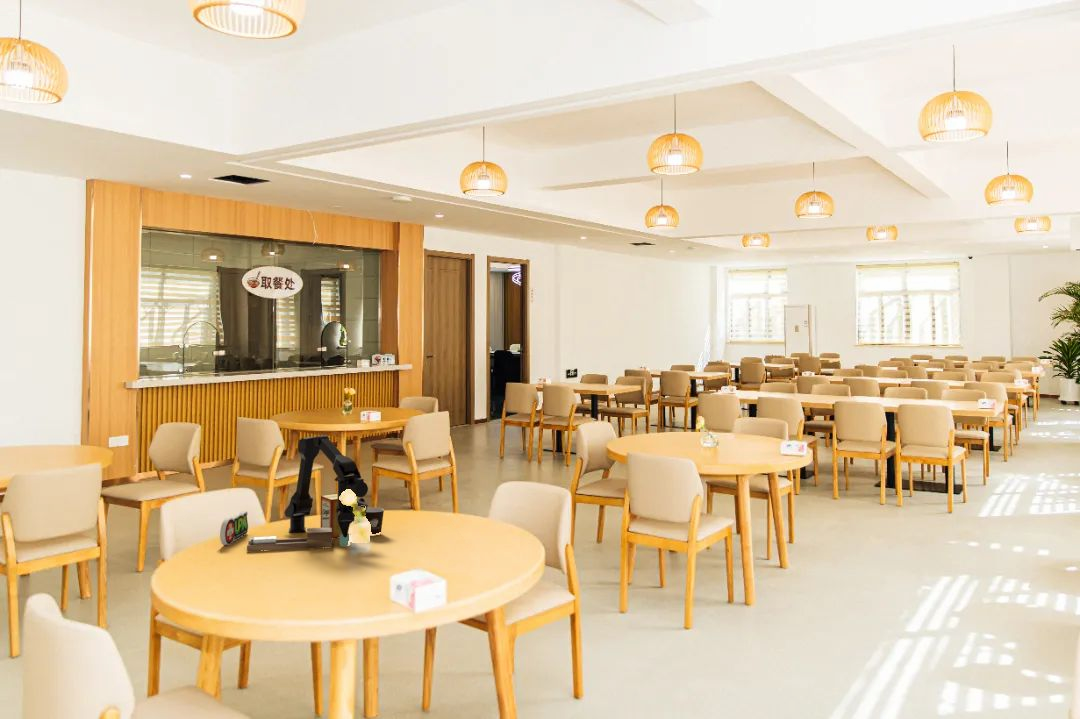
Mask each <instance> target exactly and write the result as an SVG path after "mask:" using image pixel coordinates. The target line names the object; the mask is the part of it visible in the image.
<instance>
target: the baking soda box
mask: <svg viewBox="0 0 1080 719" xmlns="http://www.w3.org/2000/svg"><path fill="white" fill-rule="evenodd" d="M337 505H338V493H336V494H327V495H325V494H324V495H320V528H326V527H331V528H332V538H336V539H339V538H338V537H340V534H342V531H341V529H340V526H339V524H338V521H337V512H336V506H337ZM338 512H339V511H338Z"/></svg>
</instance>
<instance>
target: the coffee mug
mask: <svg viewBox="0 0 1080 719" xmlns="http://www.w3.org/2000/svg"><path fill="white" fill-rule="evenodd" d="M384 512H385V509H384V508H382V507H367V510H366V515H365V516H366V518H367V519H368V521H369V522H370V524H371V532H372V534H376V533H379V532H381V533H382V528H383V527H382V526H383V520H384Z"/></svg>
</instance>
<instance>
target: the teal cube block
mask: <svg viewBox="0 0 1080 719" xmlns="http://www.w3.org/2000/svg"><path fill="white" fill-rule="evenodd" d="M338 541H339V544H340V545H339V547H340V546H344V547H348V546H347V545H348V541H349V533H348V534H347V537H344V536H343V534H340V538H339V540H338Z"/></svg>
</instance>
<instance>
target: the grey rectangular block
mask: <svg viewBox="0 0 1080 719" xmlns="http://www.w3.org/2000/svg"><path fill="white" fill-rule="evenodd" d="M277 539H278V538H277V536H274V535H273V536H256V537H255V536H252V537H250V540H249V541H250V545H254V544H273V543H276V541H277Z"/></svg>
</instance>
